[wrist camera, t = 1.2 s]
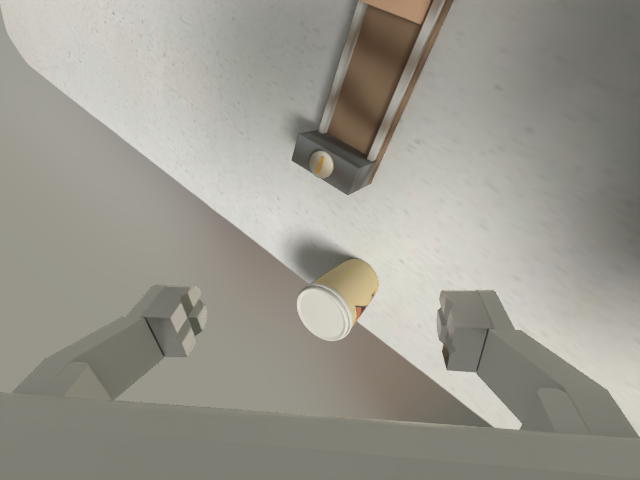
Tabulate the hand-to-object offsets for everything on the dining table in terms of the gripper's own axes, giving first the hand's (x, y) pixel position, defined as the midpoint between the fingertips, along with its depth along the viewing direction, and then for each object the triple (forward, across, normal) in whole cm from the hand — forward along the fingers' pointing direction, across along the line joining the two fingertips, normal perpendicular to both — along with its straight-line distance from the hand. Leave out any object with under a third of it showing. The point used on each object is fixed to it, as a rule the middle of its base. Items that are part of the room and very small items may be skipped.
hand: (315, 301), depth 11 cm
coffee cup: (+37, -1, +28) cm, 46 cm away
